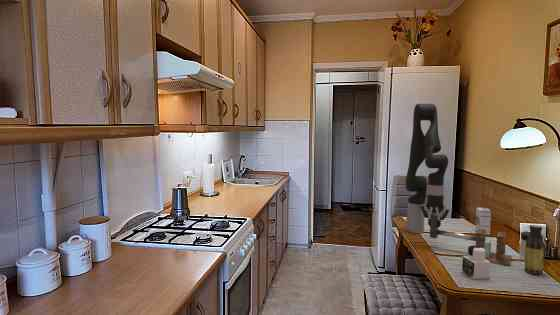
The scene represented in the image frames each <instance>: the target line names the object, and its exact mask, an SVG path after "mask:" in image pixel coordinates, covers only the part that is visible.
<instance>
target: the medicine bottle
mask: <svg viewBox="0 0 560 315" xmlns="http://www.w3.org/2000/svg"><path fill="white" fill-rule="evenodd" d="M461 264H462V266H461V267H462V268H461V272H462V273H463V274H465V275H466V276H468V277H469V278H471V279H472V280H485V279H490V277H491V274H490V273H491V262H490V261H488V260H486V259H485V249H484V248H482V247H480V246H476V244H475V245H474V244H473V245H469V246H468V248H467V255H462V263H461Z"/></svg>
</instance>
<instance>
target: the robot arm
mask: <svg viewBox="0 0 560 315" xmlns="http://www.w3.org/2000/svg"><path fill="white" fill-rule="evenodd" d="M412 118H413V119H412V135H411V136H412V137H411V141H410V150H409V159H408V167H407V171H406V177H405V189H406V191H407V192H416V193H415V194H413V195H411V196H409V197H408V198H407V215H406V217H405V218H406V222H405V223H406V225H405V231H406V232H409V233H413V234H424V233H425V218H427V225H428V226H429V227H430V217H431V214H433V213H435V214H437V219H438V220H437V228H438V229H439V228H440V227H441V225H442V223H441V222H442V221H444V220H445V219H446V217H447V215H448V214H449V212H450V209H449V208H446V207H445V205H444V199H445V198H444V196H445V195H444V194H445V190H444V189H445V188H444V180H445V176H446V171H447V168H448V166H449V157H448V156H447V155H446V154H437V153H439V152H440V151H441V150H442V145H441V139H440V136H439V123H438V121H439V119H438V110H437V107H436V104H434V103H417V104H415V106H414V109H413V116H412ZM422 121H427V122H428V121H429V123H430V124H429V127H428V129H427V131H426V133H425V134H424V132H423V130H422ZM423 163H424V164H425V166H426V167H427V169H437V170H436V171H435V172H431V173H429V174H428V177H427V178H428V181H427V179H426V177H425V176H424V175H416V174H417V171H418V169H419V168H420V166H421V165H422V164H423ZM427 210H428V213H427ZM442 211H443V213H444V214H443V215H441V213H442Z"/></svg>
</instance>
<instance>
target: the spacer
mask: <svg viewBox="0 0 560 315" xmlns="http://www.w3.org/2000/svg"><path fill="white" fill-rule="evenodd" d="M491 245H492V239H491V238H486V237H485V242H484V249H485V257H486V258H489V256H490V252H491V248H492V247H491Z"/></svg>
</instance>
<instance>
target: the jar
mask: <svg viewBox="0 0 560 315" xmlns="http://www.w3.org/2000/svg"><path fill="white" fill-rule="evenodd" d="M529 236H530V231H521V232H520V244H519V260H522V261H524V262H525V246H526V240H527V239H528V237H529ZM541 239H542V240H543V241H544V235H542V234H541Z"/></svg>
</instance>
